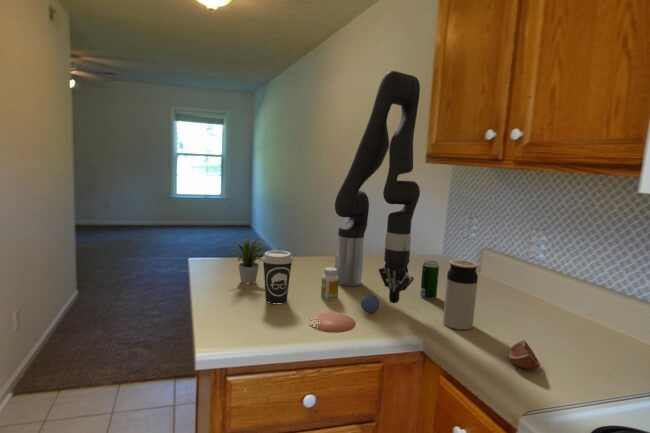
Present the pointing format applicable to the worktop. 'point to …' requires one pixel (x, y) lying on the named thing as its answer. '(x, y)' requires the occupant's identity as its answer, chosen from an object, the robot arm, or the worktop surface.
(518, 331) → the worktop surface
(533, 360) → the fruit slice
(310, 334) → the worktop surface
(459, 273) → the travel mug
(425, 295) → the beer can
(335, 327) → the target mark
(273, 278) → the coffee cup
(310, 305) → the worktop surface
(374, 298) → the ball
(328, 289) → the supplement bottle
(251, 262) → the house plant
